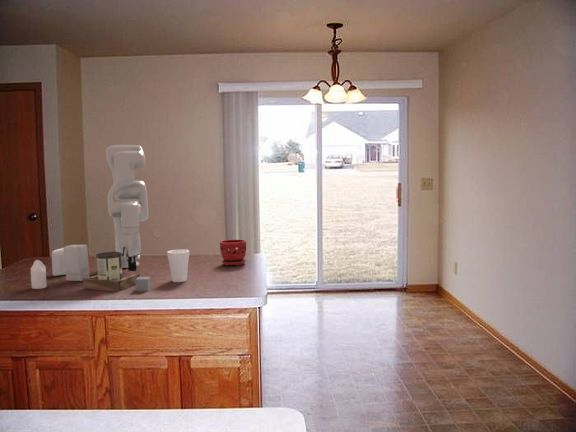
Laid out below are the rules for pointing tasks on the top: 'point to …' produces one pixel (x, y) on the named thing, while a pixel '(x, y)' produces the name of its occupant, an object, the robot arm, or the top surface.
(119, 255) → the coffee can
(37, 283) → the white tall rounded piece
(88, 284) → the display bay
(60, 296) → the top surface
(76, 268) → the skincare box
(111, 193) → the robot arm
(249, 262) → the top surface
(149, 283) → the grey block
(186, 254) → the foam cup
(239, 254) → the plant pot
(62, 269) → the photo printer
